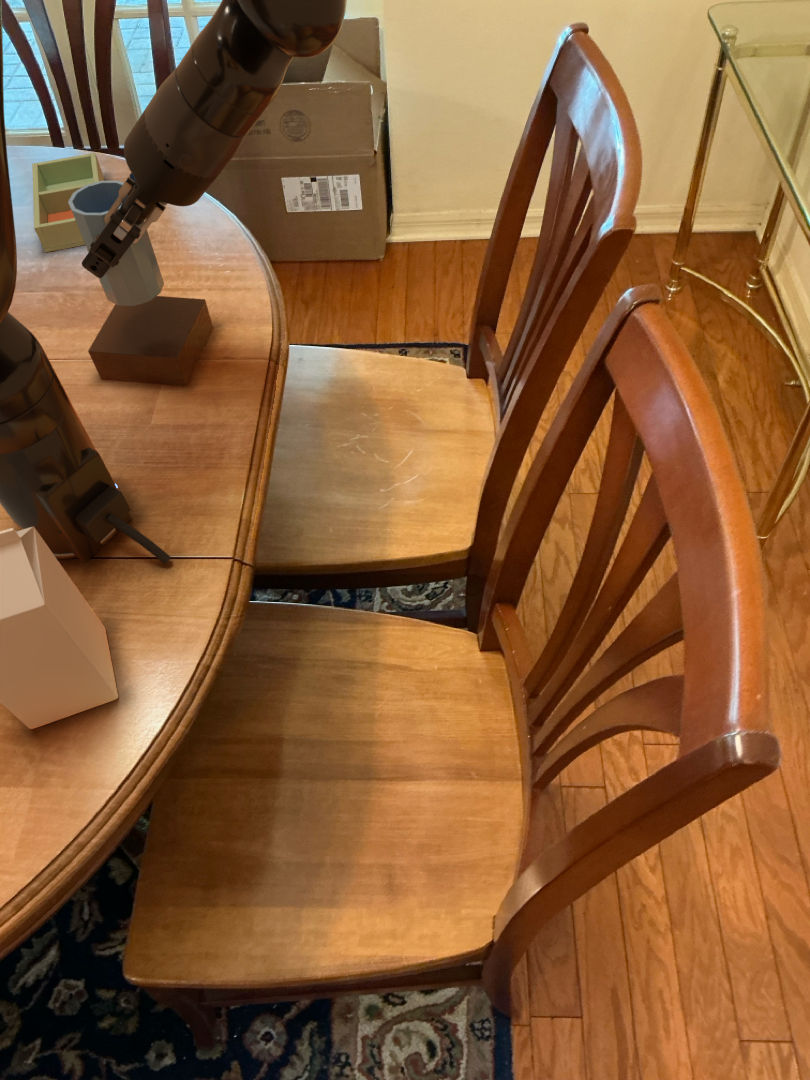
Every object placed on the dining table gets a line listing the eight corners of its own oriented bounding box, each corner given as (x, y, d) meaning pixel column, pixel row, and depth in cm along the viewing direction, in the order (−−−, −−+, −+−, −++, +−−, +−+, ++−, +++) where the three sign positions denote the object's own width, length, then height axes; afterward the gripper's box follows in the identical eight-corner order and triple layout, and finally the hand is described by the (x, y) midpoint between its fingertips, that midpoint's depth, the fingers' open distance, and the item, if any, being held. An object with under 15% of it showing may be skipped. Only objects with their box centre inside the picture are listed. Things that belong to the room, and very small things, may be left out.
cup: (175, 282, 81) (147, 191, 73) (134, 312, 78) (100, 221, 70) (134, 264, 83) (102, 174, 75) (93, 294, 80) (55, 203, 72)
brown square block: (213, 327, 90) (205, 299, 87) (186, 386, 84) (177, 358, 81) (132, 321, 91) (121, 292, 88) (100, 379, 85) (87, 351, 82)
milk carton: (119, 699, 63) (18, 571, 47) (30, 731, 61) (-104, 609, 46) (106, 628, 67) (8, 489, 51) (22, 657, 65) (-105, 522, 50)
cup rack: (103, 176, 110) (95, 152, 107) (112, 239, 101) (103, 215, 98) (42, 187, 109) (32, 163, 106) (45, 252, 100) (34, 228, 97)
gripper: (177, 65, 69) (98, 185, 79) (117, 145, 60) (38, 267, 71) (245, 128, 72) (161, 235, 83) (198, 213, 64) (111, 319, 75)
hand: (105, 250), depth 77 cm, fingers closed on cup, 6 cm apart
